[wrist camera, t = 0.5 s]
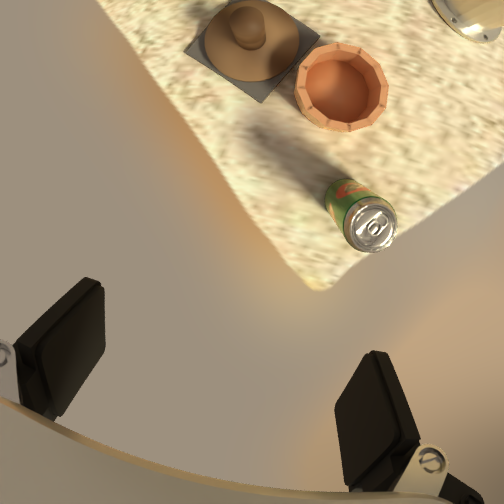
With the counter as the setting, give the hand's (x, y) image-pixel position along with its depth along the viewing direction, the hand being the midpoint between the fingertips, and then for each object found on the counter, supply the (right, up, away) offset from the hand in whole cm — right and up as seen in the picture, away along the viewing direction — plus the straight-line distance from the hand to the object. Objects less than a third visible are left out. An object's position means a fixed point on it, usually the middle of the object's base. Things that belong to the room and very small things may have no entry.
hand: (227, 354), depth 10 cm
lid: (+1, +27, +19) cm, 33 cm away
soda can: (+12, +10, +26) cm, 30 cm away
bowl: (+10, +21, +21) cm, 32 cm away
